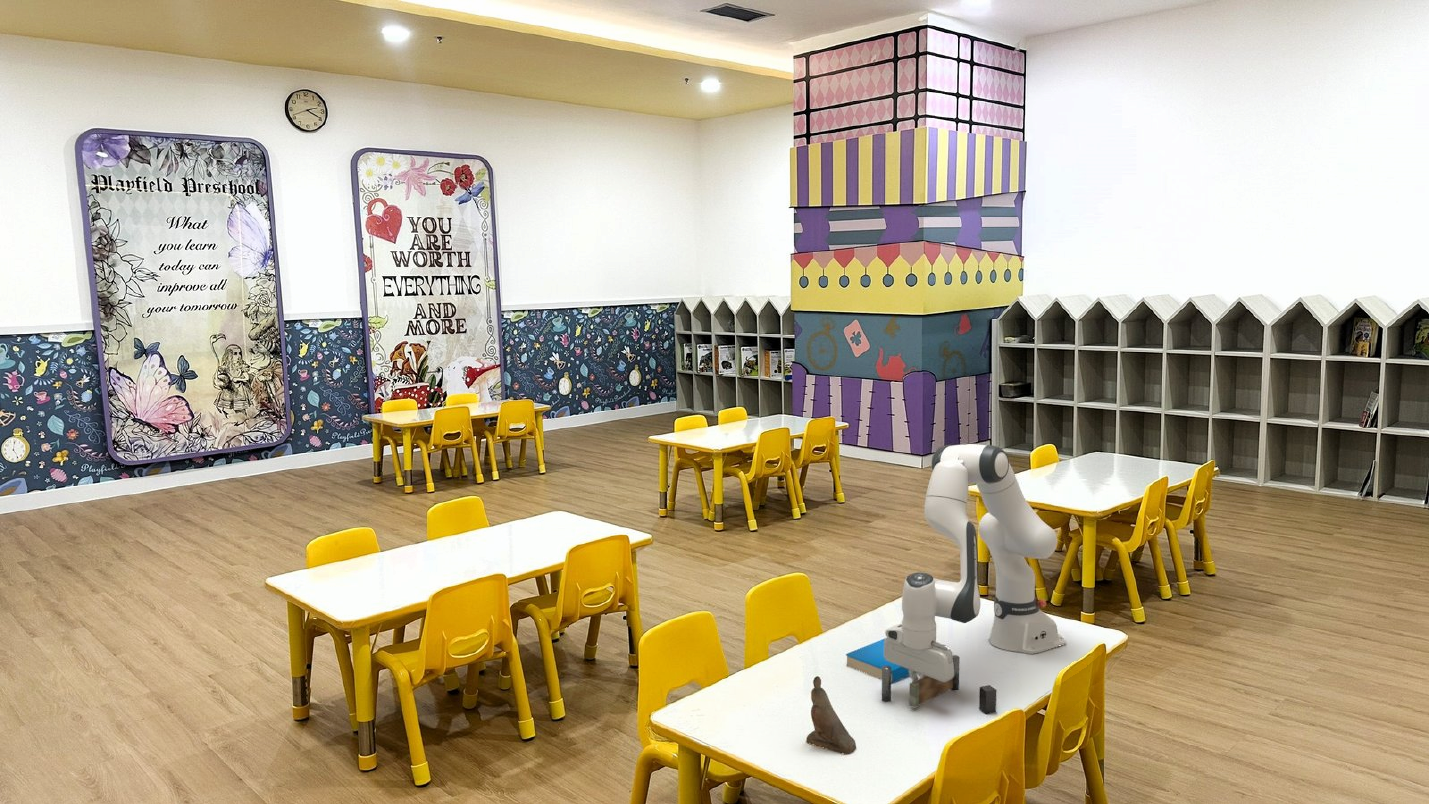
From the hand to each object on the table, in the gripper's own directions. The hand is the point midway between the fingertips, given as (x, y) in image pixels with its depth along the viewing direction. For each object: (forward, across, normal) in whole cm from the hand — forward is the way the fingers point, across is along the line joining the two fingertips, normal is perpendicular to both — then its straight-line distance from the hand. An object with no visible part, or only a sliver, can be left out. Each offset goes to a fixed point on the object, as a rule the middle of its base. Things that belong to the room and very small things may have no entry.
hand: (917, 686), depth 253 cm
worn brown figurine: (+4, -1, +34) cm, 35 cm away
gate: (+3, -3, -3) cm, 5 cm away
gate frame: (+4, -5, -1) cm, 7 cm away
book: (+5, +19, -16) cm, 25 cm away
